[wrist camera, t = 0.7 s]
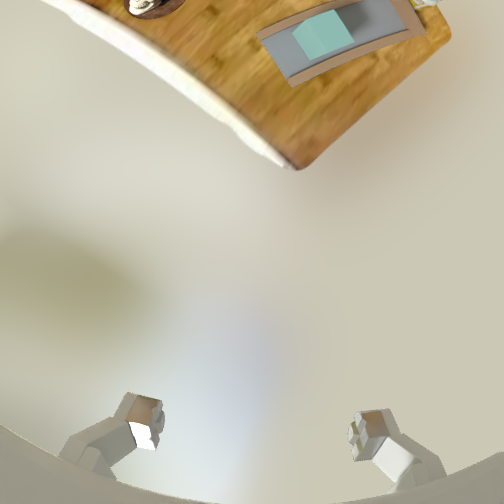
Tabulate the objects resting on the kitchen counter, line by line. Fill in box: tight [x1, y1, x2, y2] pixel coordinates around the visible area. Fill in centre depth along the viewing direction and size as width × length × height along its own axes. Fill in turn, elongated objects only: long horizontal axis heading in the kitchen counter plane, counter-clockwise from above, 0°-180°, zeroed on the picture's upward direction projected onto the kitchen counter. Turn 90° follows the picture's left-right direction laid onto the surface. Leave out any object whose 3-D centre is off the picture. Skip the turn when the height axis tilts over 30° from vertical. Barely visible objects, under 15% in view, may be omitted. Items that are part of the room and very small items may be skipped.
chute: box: [255, 0, 427, 88], centre depth 35 cm, size 12×30×4 cm, turn 122°
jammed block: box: [292, 9, 354, 60], centre depth 34 cm, size 6×5×10 cm
